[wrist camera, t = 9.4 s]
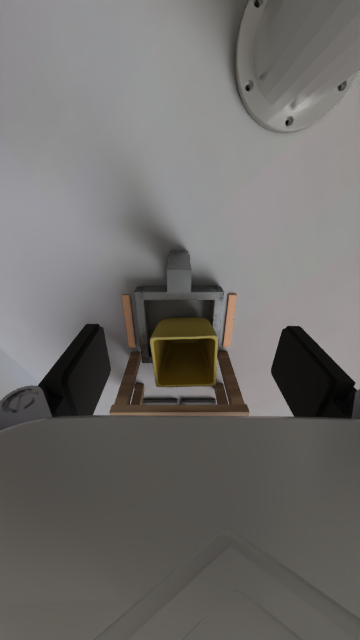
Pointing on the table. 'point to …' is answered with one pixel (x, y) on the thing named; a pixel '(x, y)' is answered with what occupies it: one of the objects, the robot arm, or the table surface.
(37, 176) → the table surface
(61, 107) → the table surface
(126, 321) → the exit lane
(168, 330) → the flower pot
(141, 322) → the grey tray with upright
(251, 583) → the robot arm
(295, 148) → the table surface
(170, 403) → the frames
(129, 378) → the small wooden table
